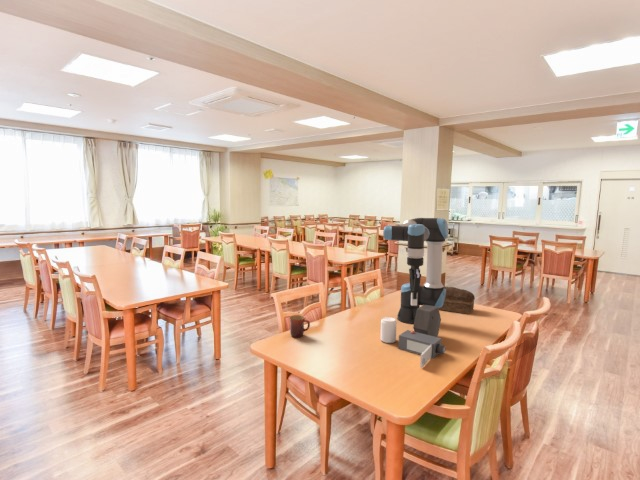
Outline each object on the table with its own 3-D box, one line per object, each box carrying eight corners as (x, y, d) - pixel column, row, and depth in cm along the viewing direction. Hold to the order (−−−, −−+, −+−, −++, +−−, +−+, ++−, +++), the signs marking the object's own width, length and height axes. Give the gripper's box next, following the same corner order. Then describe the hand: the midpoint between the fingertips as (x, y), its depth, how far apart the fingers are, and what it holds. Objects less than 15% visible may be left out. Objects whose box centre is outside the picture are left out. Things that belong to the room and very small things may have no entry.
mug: (286, 336, 196) (286, 318, 195) (294, 331, 204) (294, 314, 203) (305, 340, 191) (305, 321, 190) (312, 335, 199) (313, 317, 198)
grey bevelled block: (429, 322, 207) (422, 297, 196) (442, 325, 202) (436, 300, 191) (418, 345, 197) (410, 320, 186) (432, 349, 192) (425, 323, 181)
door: (424, 369, 159) (424, 354, 158) (420, 367, 160) (420, 353, 159) (433, 358, 170) (434, 344, 169) (429, 357, 171) (430, 344, 170)
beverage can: (386, 344, 186) (387, 322, 185) (377, 339, 193) (377, 317, 192) (398, 342, 190) (399, 320, 189) (389, 337, 197) (389, 315, 196)
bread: (428, 303, 265) (429, 282, 263) (475, 309, 249) (476, 287, 247) (423, 308, 252) (424, 286, 250) (472, 315, 236) (473, 292, 235)
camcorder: (398, 348, 181) (398, 333, 180) (407, 342, 189) (407, 328, 188) (440, 360, 168) (440, 344, 167) (447, 353, 176) (448, 338, 175)
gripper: (404, 254, 176) (403, 301, 179) (410, 259, 163) (409, 309, 166) (419, 254, 176) (418, 301, 179) (427, 259, 163) (425, 309, 166)
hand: (413, 305), depth 173 cm, fingers closed
